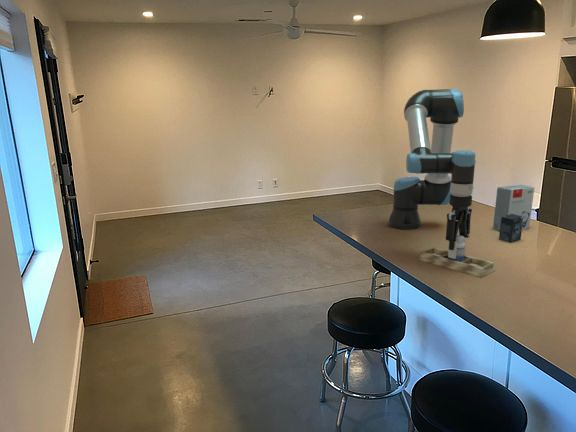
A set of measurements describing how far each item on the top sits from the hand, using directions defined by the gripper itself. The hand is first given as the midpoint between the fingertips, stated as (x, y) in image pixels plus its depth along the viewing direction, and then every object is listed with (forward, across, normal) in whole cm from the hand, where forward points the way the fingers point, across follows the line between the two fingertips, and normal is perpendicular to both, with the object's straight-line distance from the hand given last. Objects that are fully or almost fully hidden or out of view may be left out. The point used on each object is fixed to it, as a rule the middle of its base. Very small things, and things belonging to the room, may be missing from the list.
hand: (456, 255), depth 173 cm
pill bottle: (+3, 0, 0) cm, 3 cm away
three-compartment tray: (+4, 0, 0) cm, 4 cm away
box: (+4, +45, 0) cm, 45 cm away
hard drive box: (+4, +62, +7) cm, 62 cm away
